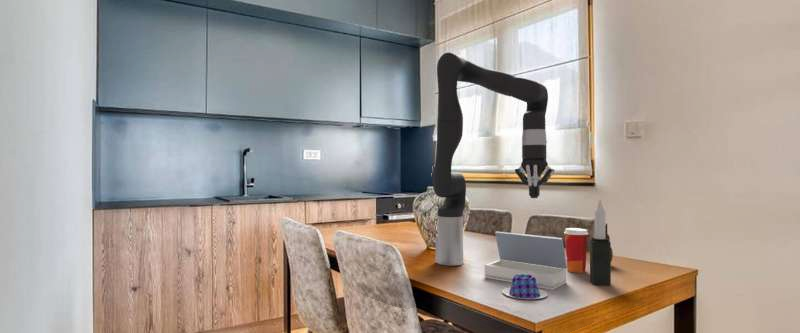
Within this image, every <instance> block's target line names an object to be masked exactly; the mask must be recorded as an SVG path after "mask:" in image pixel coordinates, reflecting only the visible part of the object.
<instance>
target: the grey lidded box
mask: <svg viewBox="0 0 800 333" xmlns="http://www.w3.org/2000/svg"><path fill="white" fill-rule="evenodd" d="M518 274H527V275H532V276H534V277H535V279H536V282H537V286H538V288H539V289H540V288H541V289H546V290H552V291H553V290H556V289H557V288H559V287H561V286H564V285H565V284H566V283H567V269H561V268H555V267H548V266H541V265H534V264H528V263H521V262H514V261H507V260H501V259H497V260H495V261H492V262H489V263H486V264H485V265H484V278H485V279H490V280H491V279H492V280H498V281H503V282H507V281H508V283H512V280H513V277H514V276H515V275H518Z"/></svg>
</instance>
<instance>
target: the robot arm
mask: <svg viewBox="0 0 800 333" xmlns="http://www.w3.org/2000/svg"><path fill="white" fill-rule="evenodd" d="M436 76H437V90H438V92H437V93H438V94H437V96H438V97H437V98H438V100H437V117H436V118H437V122H436V146H435V147H436V149H435V150H436V151H435V160H434V161H435V162H434V167H433V168H434V169H433V170H434V171H433V175H432V188H433V191H434V194H435V195H436V196H437V197H439V198H443V199H444V198H445V201H444V203H443V204H442V205H441V206H439V207H438V209H437V235H436V236H435V239H434V240H435V241H434V243H435V250H434V251H435V257H434V258H435V263H436V264H438V265H442V266H451V267H452V266H454V267H455V266H461V265H463V264H464V211H465V208H466V197H467V196H466V195H467V193H466V192H467V183H466V179H465V177H464V175H463V174H462V173H461V172H458V171H452V163H453V158H454V155H455V153H456V152H457V149H458V147H459V145H460V142H461V140H462V137H463V132H464V130H463V129H464V116H463V111H462V107H461V103H460V100H459V97H458V82H462V83H468V84H469V83H470V84H474V85H478V86H480V87H482V88H485V89H487V90H489V91H491V92H495V93H497V94H500V95H503V96H507V97H512V98H515V99H516V100H518V101H522V102H523V103H524V102H525V103H526V110H525V112H524V113H523V115H522V136H521V158H522V161H521V164H520V166H518V168H515V169H514V172H515V174H516V175H517V177H518V178H519V180H520V181H521V183H523V185H527V186H528V195H529V197H530V198H531V199H538V198H539V197H540V190H541V188H540V187H541V186H543V185H546V183H547V182H548V181H549V179H550V178H551V177H552V176H553V175H554V172H555V169H554V168H551V167H550V166H549V164H548V163H549V162H548V161H547V142H548V141H547V134H546V133H547V131H546V114H547V109H548V108H547V107H548V101H549V93H548V88H547V87H546V86H545V85H544V84H542V83H540V82H539V81H535V80H532V79H530V78H529V79H528V78H525V77H519V76H516V75H513V74H511V73H508V72H505V71H501V70H497V69H490V68H485V67H482V66H480V65H477V64H475V63H473V62H471V61H469V60H467V59H466V58H464V57H463V56H461V55H459V54H456V53H453V52H445V53H443V54H442V55H441V56H440V57H439V59H438V61H437V64H436ZM525 173H526V174H525ZM543 173H544V175H543ZM542 175H543V176H542Z"/></svg>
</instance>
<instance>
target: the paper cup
mask: <svg viewBox="0 0 800 333" xmlns="http://www.w3.org/2000/svg"><path fill="white" fill-rule="evenodd" d="M563 233H564V239H565V258H566V265H567V269H566V271H567V272H569V273H572V274H573V273H575V274H583V273H586V266H587V252H588V250H587V249H588V236H589V232H588V229H587V228H586V229H585V228H580V227H567V228H565V229H564V232H563Z"/></svg>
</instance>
